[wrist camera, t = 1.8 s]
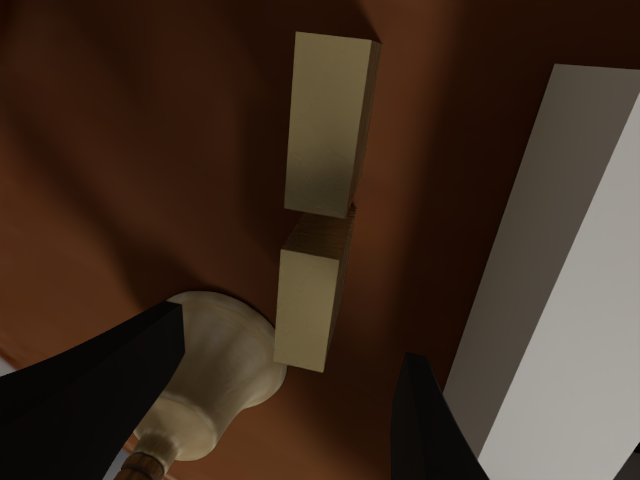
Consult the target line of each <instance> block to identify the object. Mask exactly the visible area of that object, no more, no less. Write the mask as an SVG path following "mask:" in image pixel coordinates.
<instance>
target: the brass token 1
mask: <svg viewBox="0 0 640 480" xmlns="http://www.w3.org/2000/svg"><path fill="white" fill-rule="evenodd" d="M381 49H382V44H381V43H378V42H375V41H372V40H365V39H357V38H348V37H339V36H330V35H321V34H313V33H304V32H296V37H295V52H294V67H293V82H292V97H291V111H290V126H289V141H288V156H287V170H286V185H285V200H284V208H286V209H292V210H297V211H303V212H309V213H315V214H320V215H326V216H332V217H338V218H343V219H346V217H347V214H348V211H349V208H350V206H351V203H352V200H353V198H354V195H355V192H356V189H357V187H358V184H359V181H360V178H361V176H362V170H363V164H364V157H365V151H366V145H367V138H368V132H369V125H370V119H371V113H372V106H373V100H374V93H375V87H376V81H377V74H378V68H379V62H380V55H381Z"/></svg>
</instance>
